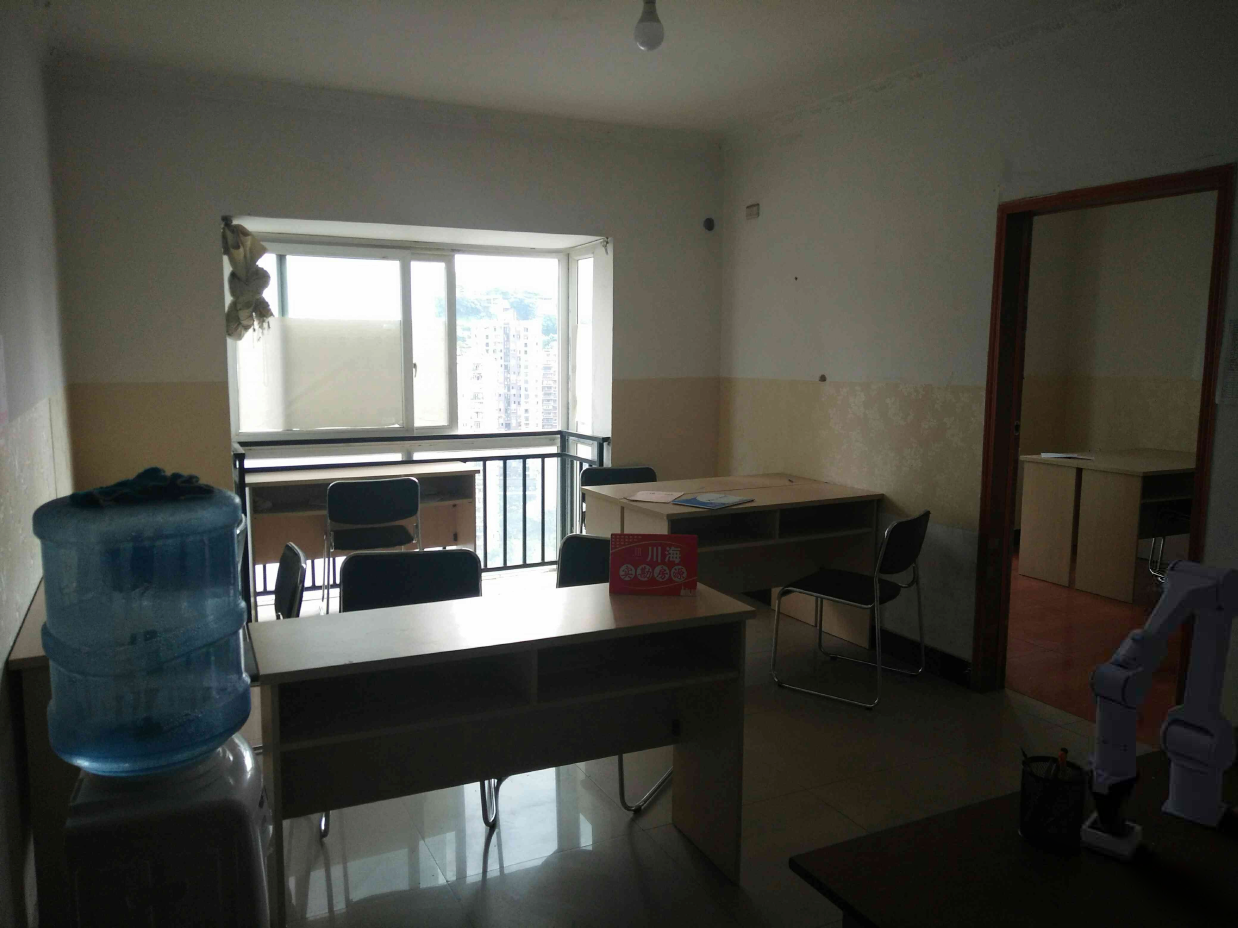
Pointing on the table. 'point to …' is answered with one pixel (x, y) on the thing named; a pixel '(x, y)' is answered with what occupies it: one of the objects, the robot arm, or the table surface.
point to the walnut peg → (1121, 822)
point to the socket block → (1111, 839)
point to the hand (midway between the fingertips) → (1111, 818)
